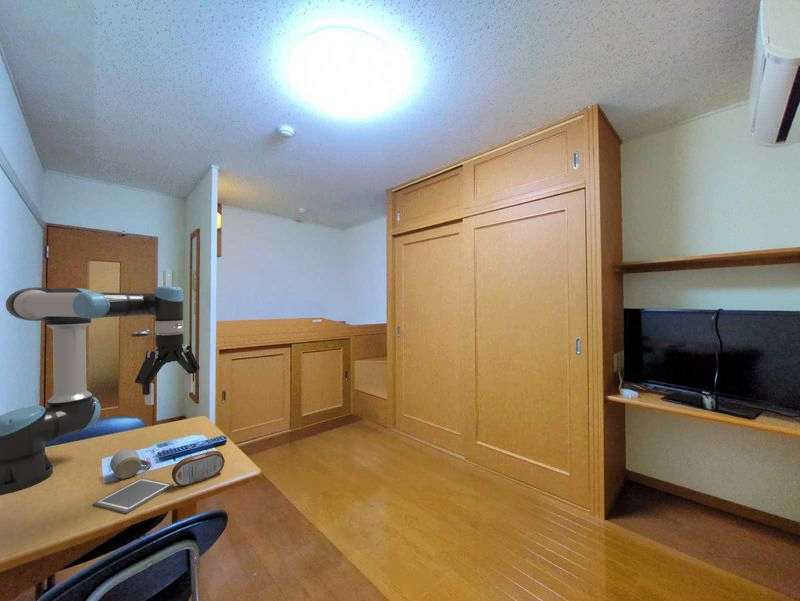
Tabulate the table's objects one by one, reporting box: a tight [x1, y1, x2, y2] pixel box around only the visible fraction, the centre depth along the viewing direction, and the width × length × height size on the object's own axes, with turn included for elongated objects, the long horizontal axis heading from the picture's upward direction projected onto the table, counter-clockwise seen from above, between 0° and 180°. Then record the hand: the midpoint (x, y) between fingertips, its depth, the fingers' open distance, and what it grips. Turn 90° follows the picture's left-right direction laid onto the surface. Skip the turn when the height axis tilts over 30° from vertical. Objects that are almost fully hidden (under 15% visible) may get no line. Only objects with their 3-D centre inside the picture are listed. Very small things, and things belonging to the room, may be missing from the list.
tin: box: [171, 450, 226, 487], centre depth 108 cm, size 15×3×8 cm, turn 133°
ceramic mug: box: [109, 448, 152, 480], centre depth 113 cm, size 11×8×8 cm
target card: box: [91, 477, 175, 515], centre depth 100 cm, size 14×14×1 cm
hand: (170, 398), depth 106 cm, fingers open, 13 cm apart
